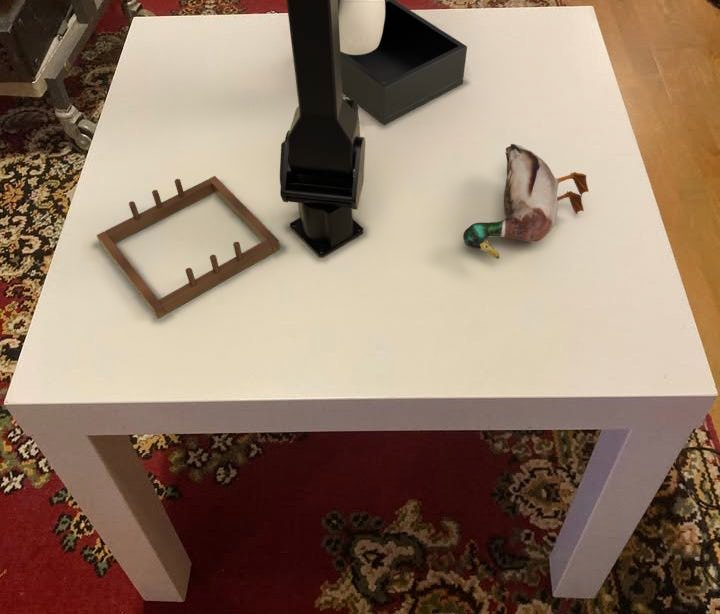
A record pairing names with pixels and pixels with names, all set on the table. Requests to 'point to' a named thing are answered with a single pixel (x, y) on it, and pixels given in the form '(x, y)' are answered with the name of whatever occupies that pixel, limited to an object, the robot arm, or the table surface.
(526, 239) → the decorative duck model
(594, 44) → the table surface
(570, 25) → the table surface
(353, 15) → the figurine
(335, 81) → the robot arm
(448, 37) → the dark grey open box
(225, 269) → the drying rack
